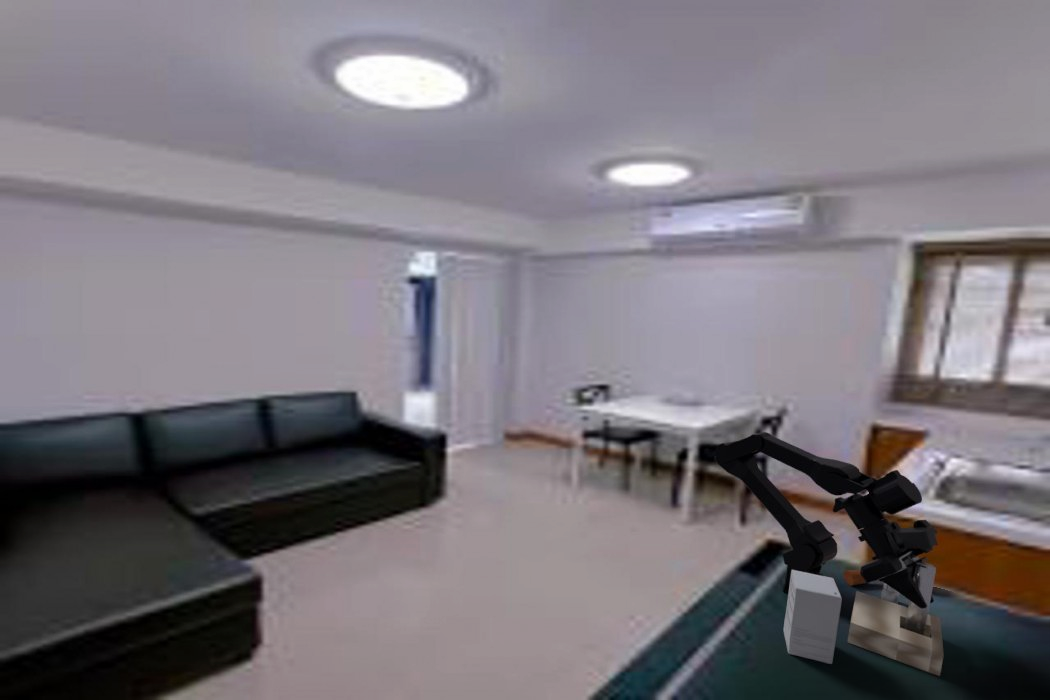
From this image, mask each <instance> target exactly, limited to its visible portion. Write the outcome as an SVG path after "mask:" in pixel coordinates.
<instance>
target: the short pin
mask: <svg viewBox="0 0 1050 700" xmlns="http://www.w3.org/2000/svg"><path fill="white" fill-rule="evenodd" d="M899 597H900V593H899V592H897V591H896V590H894V589H893V588H891V587H890V586H888V585H887V584H885V583H884V582H883V584H882V590H881V596H880V599H883V600H886V601H889V602H892V603H895V604H898V603H899ZM898 605H899V604H898Z"/></svg>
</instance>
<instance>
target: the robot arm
mask: <svg viewBox="0 0 1050 700" xmlns="http://www.w3.org/2000/svg"><path fill="white" fill-rule="evenodd" d="M760 453H761V454H763V455H765V456H767V457H770V458H772V459H774V460H775V461H778V462H780V463H782V464H784V465H786V466H788V467H791V468H792V469H795V470H796V471H798V472H800V473H803V474H805V475H807V476H808V477H809V478H810V479H811V480H812V482H813V483H815V485H816V486H819V488H821V489H822V490H824V491H825V492H827V493H828V494H830V495H833V496H838V497H837V498H835V499H834V505H833V508H832V512H833V513H838V512H840V511H843V510H844V511H845V512H846V514H847V516H848V518H849V519H850V520H851V522H852V523H853V525H854V526H855V527H856V529H857V531H858V532H859V534H860V535H859V536H857V538H858V540H859V541H860V542H861V543H862V542H864V541H865V543H866V544H867V546H868V547H869V548H870V550H871V552H872V554H873V555H874V556H871V559H872V560H871V561H869V562H867V563H865V564H863V565H862V566H861V567H860V570H859V571H860V574H861V575H862V577H863V579H864V580H865V582H866V583H865V584H870V583H871V582H876V581H875V580H877V579H878V580H877V581H879V582H880V583H881V582H882V583H883V584H884V583H885V584H887V585H888V586H890V587H891V588H893V589H894V590H896V591H897V592H899V595H902V597H905V598H906V599H908V601H911V602H913V603H914V604H916V605H917V606H918V607H920V608H921V609H923V608H926V607H927V604H926V602H925V600H924V598H923V596H922V595H921V593H920V591H919V589H918V587H917V586H916V584H915V582H914V580H913V578H914V573H915V567H916V562H925V563H926V561H927V559H928V557H927V556H923V557H920V558H919V556H920V555H922V554H928V553H930V552H932V551H933V550H934V546H938V545H939V543H938V540H937V537H936V535H938V530H936V529H935V528H934V526H933V525H931V524H930V523H929V522H928V521H927V519H917V520H915V521H914V522H913V525H912V526H908V527H901V526H900V524H899V523H898V522H897V521H895V520H892V521H891V522H890V520H889V519H888V518H887V516H886V515H885V513H886V514H889V515H890V516H892V515H896V514H898V513H900V512H903V511H904V510H907V509H909V508H911V507H914V506H916V505H919V504H921V503H922V501H923V498H922V497H923V496H922V494H921V492H920V490H919V488H918V486H917V485H916V484H915V483H914V482H912V481H911V480H910V479H909V478H908V477H906V476H904V475H903V474H901V473H900V471H899V470H898V469H895V470H891V471H889V472H888V473H886V474H885V475H883V476H882V477H880V478H878V479H877V478H874V477H872V476H870V475H868V474H866V473H863V472H861V471H860V469H859V468H858V466H856V465H854V464H852V463H849V462H846V461H841V460H837V459H832V458H828V457H827V458H826V457H821V456H818V455H815V454H813V453H811V452H809V451H807V450H804V449H802V448H800V447H797V446H796V445H794V444H791V443H789V442H786V441H785V440H783V439H780V438H778V437H777V436H776V437H775V436H773V435H772V434H771V433H769V432H766V431H762V432H761V431H760V432H756V433H751V435H749V436H747V437H745V438H741V439H740V440H739V439H738V440H733V441H729V442H723V443H722V442H721V443H720V444H718V445H717V446H716V447H715V449H714V457H713V458H714V460H715V461H714V462H716V464H717V465H718V466H719V467H721V468H722V469H723V470H724V471H725V472H726V473H728V474H729V475H731V476H733V477H735V478H737V479H739V480H740V481H742V482H743V484H745V486H746V487H747V488H748V489H749V491H750V492H751V493H752V494H753V495H754V496H755V497H756V499H758V501H759V502H760V503H761V504H762V505H763V506H764V508H765V509H766V510H767V511H768V512H769V513H770V514H771V516H772V517H773V518H774V519H775V520H776V521H777V523H778V524H779V525H780V526H781V527H782V528H783V530H785V532H786V535H787V539H788V542H789V545H790V547H791V550H789V551H787V552H785V553H782V559H783V563H784V565H785V566H786V571H785V572H786V573H785V581H784V584H783V587H782V592H783V593H787V594H788V593H789V585H790V578H791V571H792V570H796V571H801V572H806V573H810V574H815V575H820V576H825V574H823V573H822V569H823V568H822V566H823V565H825V564H827V562H829V561H832V560H833V559H835V557H836V556H837V554H838V543H837V541H836V539H835V538H834V536H835V534H834V533H832V532H831V531H829V530H828V529H827V528H826V526H825V525H824V523H823V522H822V521H820V520H819V519H817V520H815V521H810V520H808V519H806V518H805V517H803V515H802V513H800V512H799V511H798V510H797V508H795V506H794V505H793V504H792V503H791V502H790V501H789V500H788V499H787V497H785V495H784V494H783V493H782V492H781V491H780V490H779V489H778V488H777V487H776V486H775V484H774V483H773V482H772V481H771V480H770V479H769V478H768V477H767V475H765V474H764V472H763V471H762V470H761V469H760V467H759V465H758V461H757V458H756V456H755V455H758V454H760ZM866 491H867V492H868V493H866V494H865V495H861V494H860V493H862V492H866ZM846 494H851V495H850V496H848V497H845V498H844V497H842V496H843V495H846ZM934 602H935V600H934V596H933V593H932V594H931V600H930V604H932V603H934Z"/></svg>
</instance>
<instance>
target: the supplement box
mask: <svg viewBox="0 0 1050 700" xmlns="http://www.w3.org/2000/svg"><path fill="white" fill-rule="evenodd" d="M787 594H788V595H787V603H786V609H785V615H784V622H783V623H784V624H783V630H782V631H783V635H784V640H785V644H786V645H785V646H786V649H787V654H788V655H792V656H798V657H801V658H805V659H810V660H814V661H818V662H820V663H821V662H822V663H824V664H829V665H832V664H833V660H834V653H835V647H836V641H837V635H838V627H839V621H840V616H841V615H840V614H841V609H842V608H841V607H842V601H843V597H842V596H841V593H840V590H839V588H838V586H837V583H836V582H835V579H834V577H831V576H830V577H829V576H825V575H824V576H820V575H815V574H810V573H806V572H801V571H796V570H792V571H791V578H790V585H789V593H787Z"/></svg>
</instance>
